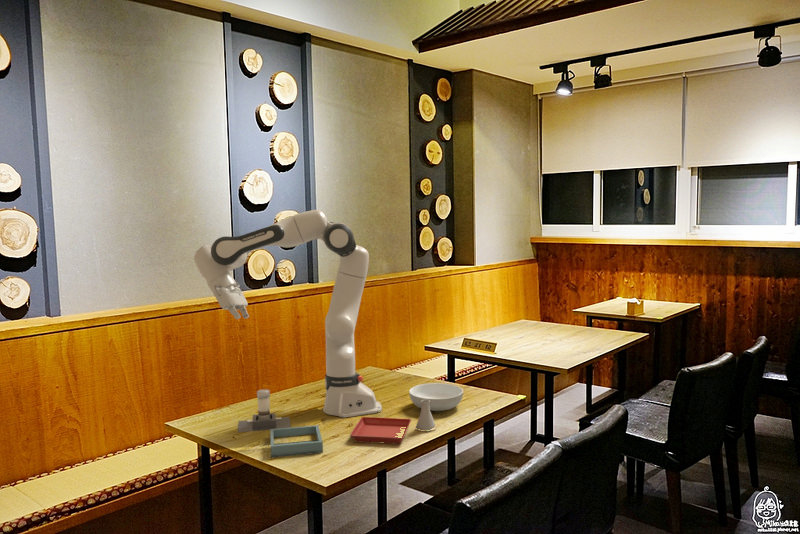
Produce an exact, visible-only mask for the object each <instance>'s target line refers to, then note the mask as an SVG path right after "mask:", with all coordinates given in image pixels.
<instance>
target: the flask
mask: <svg viewBox="0 0 800 534" xmlns="http://www.w3.org/2000/svg"><path fill="white" fill-rule="evenodd" d="M421 403H422V408H420V413H419V417H418V420H417V422H416V425H415V428H417V429H420V430H430V429H432V428H434V427H435V425H436V423H435V420H434V417H433V415H432V411H430V407H429V403H430V400H421Z"/></svg>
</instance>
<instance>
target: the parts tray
mask: <svg viewBox="0 0 800 534" xmlns="http://www.w3.org/2000/svg"><path fill="white" fill-rule="evenodd" d="M269 431H270V432H269V433H270V434H269V435H270V458H271V459H272V457H273V458H283V457H292V456H293V457H294V456H301V455H302V456H303V455H314V454H323V453H324V449H323V448H324V444H323V439H322V434H321V430H320V426H319V425H317V424H315V425H305V426H304V425H303V426H295V427H294V426H293V427H292V426H291V428H280V429H270V430H269ZM305 435H306V436H307V435H315V437H316V439H315V440H313V439H312V440H306V441H305V440H303V441H292V442H290V441H289V442H282V443H279V442H278V443H275V438H284V437H294V436H305Z"/></svg>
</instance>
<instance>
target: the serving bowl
mask: <svg viewBox="0 0 800 534" xmlns="http://www.w3.org/2000/svg"><path fill="white" fill-rule="evenodd" d="M408 393H409V398H410V400H411V402H412V403H413V404H414V405H415V406H416V407H418V408H420V409H421V408H422V403H421V400H430V403H429V407H430V410H431V411H430V412H442V410H443V411H446V410H451V409H454V408H455V407H457V406H459V404H460V403H461V401H462V399H463V397H464V389H463V388H462V387H461V386H458V385H455V384H451V383H443V382H428V383H422V384H417V385H414V386H413V387H411V388H410V389H409V391H408Z"/></svg>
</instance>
